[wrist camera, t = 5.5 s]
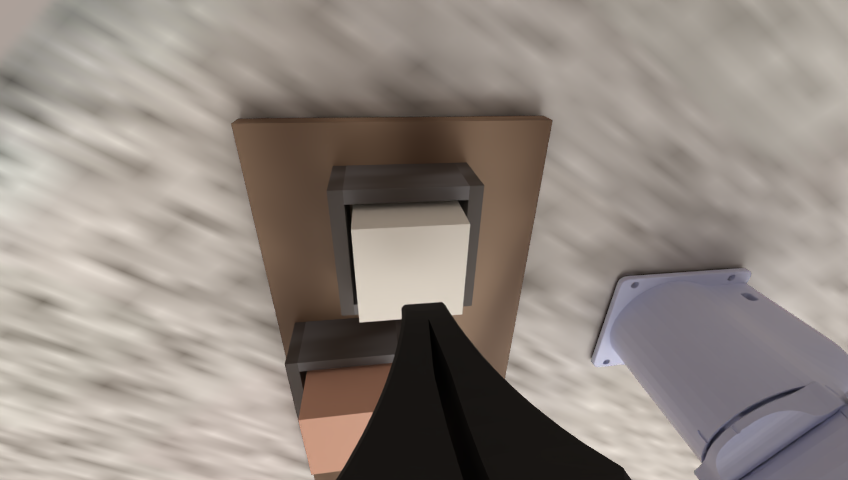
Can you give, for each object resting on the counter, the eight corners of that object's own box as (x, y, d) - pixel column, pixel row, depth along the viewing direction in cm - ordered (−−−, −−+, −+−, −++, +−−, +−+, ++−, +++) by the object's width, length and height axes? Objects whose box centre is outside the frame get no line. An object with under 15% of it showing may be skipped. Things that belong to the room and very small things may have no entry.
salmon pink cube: (392, 352, 20) (396, 409, 17) (394, 404, 22) (398, 463, 19) (308, 359, 19) (298, 420, 16) (319, 413, 22) (311, 474, 19)
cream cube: (451, 189, 17) (470, 224, 14) (447, 269, 19) (462, 314, 16) (353, 192, 16) (351, 229, 13) (360, 274, 18) (359, 322, 15)
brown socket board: (543, 115, 18) (586, 136, 14) (485, 453, 32) (500, 505, 28) (238, 118, 16) (203, 142, 13) (318, 474, 30) (312, 532, 26)
